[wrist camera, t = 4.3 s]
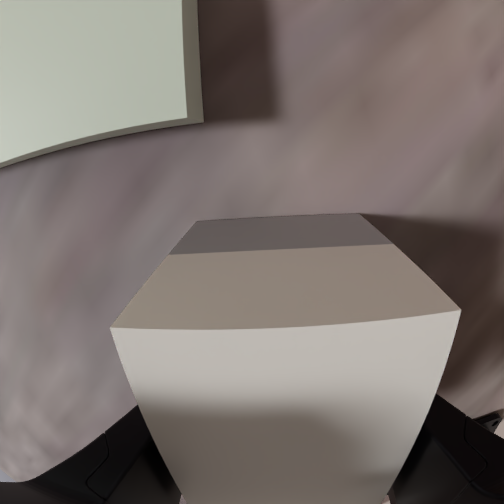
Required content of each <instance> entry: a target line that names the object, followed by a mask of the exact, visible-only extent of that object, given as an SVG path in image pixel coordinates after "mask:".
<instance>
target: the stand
mask: <svg viewBox="0 0 504 504" xmlns="http://www.w3.org/2000/svg"><path fill="white" fill-rule="evenodd" d="M195 123H204V116H203V102H202V88H201V71H200V54H199V34H198V10H197V0H0V168H2V167H5V166H8V165H11V164H14V163H17V162H20V161H23V160H26V159H29V158H33V157H36V156H39V155H43V154H46V153H50V152H53V151H57V150H60V149H64V148H68V147H72V146H76V145H80V144H84V143H88V142H93V141H97V140H101V139H106V138H111V137H116V136H121V135H126V134H131V133H136V132H142V131H148V130H154V129H160V128H166V127H173V126H180V125H187V124H195Z"/></svg>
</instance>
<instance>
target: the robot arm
mask: <svg viewBox="0 0 504 504" xmlns="http://www.w3.org/2000/svg"><path fill="white" fill-rule="evenodd" d="M501 420H502V418H501V416H500V415H499V414H498V413H496V414H494V415H491V416H488V417H486V418H483V419H480V420H477V421H474V420H473V419H471V418H470V417H469V416H466V415H465V414H464V413H463V412H461V411H460V410H459V409H457V408H456V407H454V406H453V405H452V404H450V403H449V402H447V401H446V400H445V399H443V398H442V397H440V396H439V395H438V394H435V396H434V399H433V401H432V404H431V406H430V409H429V411H428V414H427V416H426V418H425V421H424V423H423V425H422V427H421V430H420V432H419V434H418V436H417V438H416V440H415V442H414V445H413V447H412V449H411V451H410V453H409V455H408V457H407V459H406V460H405V462H404V464H403V466H402V468H401V470H400V472H399V474H398V475H397V477H396V479H395V481H394V482H393V484H392V486H391V488H390V489H389V491H388V493H387V495H389V499H390V503H391V504H504V439H503V438H501V437H499V436H498V435H496V434H494V432H495V429H496V428H497V426H498V425H499V423H500V422H501ZM181 494H182V493H181V492H180V490H179V488H178V486H177V485H176V483H175V481H174V479H173V477H172V475H171V474H170V472H169V470H168V468H167V466H166V464H165V462H164V460H163V458H162V456H161V454H160V452H159V450H158V448H157V446H156V444H155V442H154V440H153V438H152V435H151V433H150V431H149V429H148V427H147V425H146V422H145V420H144V418H143V415H142V413H141V411H140V408H139V406H138V405H137V406H135V407H134V408H133V409H132V410H131V411H129V412H128V413H127V414H126V415H125V416H123V417H122V418H121V419H120V420H119V421H117V422H116V423H115V424H114V425H112V426H111V427H110V428H109V429H108V430H106V431H105V433H103V434H101V435H100V436H99V437H98V438H96V439H95V440H94V441H92V442H91V443H90V444H88V445H87V446H86V447H84V448H83V449H82V450H80V451H79V452H77V453H76V454H74V455H73V456H71V457H70V458H68V459H66V460H65V461H63V462H62V463H60V464H58V465H57V466H55V467H53V468H52V469H50V470H48V471H47V472H45V473H43V474H41V475H40V476H38V477H36V478H34V479H31V480H28V481H24V482H0V504H179V502H180V498H181Z"/></svg>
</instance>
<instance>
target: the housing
mask: <svg viewBox="0 0 504 504" xmlns="http://www.w3.org/2000/svg"><path fill="white" fill-rule="evenodd" d="M460 314H461V309H460V308H459V307H458V306H457V305H456V304H455V303H454V302H453V301H452V300H451V299H450V298H449V297H448V296H447V295H446V294H445V293H444V292H443V291H442V290H441V289H440V288H439V287H438V286H437V285H436V284H435V283H434V282H433V281H432V280H431V279H430V278H429V277H428V276H427V275H426V274H425V273H424V272H423V271H422V270H421V269H420V268H419V267H418V266H417V265H416V264H415V263H414V262H413V261H412V260H410V259H409V258H408V257H407V256H406V255H405V254H404V253H403V252H402V251H401V250H400V249H399V248H397V247H396V246H395V245H394V244H393V243H392V242H391V241H390V240H389V239H387V238H386V237H385V236H384V235H383V234H382V233H381V232H380V231H378V230H377V229H376V228H375V227H374V226H373V225H372V224H370V223H369V222H368V221H367V220H366V219H365V218H363V217H362V216H361V215H360V214H329V215H303V216H281V217H261V218H243V219H227V220H211V221H197V222H196V223H195V224H194V225H193V226H192V227H191V228H190V230H189V231H188V232H187V233H186V234H185V235H184V237H183V238H182V239H181V240H180V241H179V242H178V244H177V245H176V246H175V247H174V248H173V249H172V251H171V252H170V253H169V254H168V255H167V257H166V258H165V259H164V260H163V261H162V263H161V264H160V265H159V266H158V267H157V269H156V270H155V271H154V272H153V274H152V275H151V276H150V277H149V278H148V280H147V281H146V282H145V283H144V285H143V286H142V287H141V288H140V290H139V291H138V292H137V293H136V295H135V296H134V297H133V298H132V300H131V301H130V302H129V303H128V305H127V306H126V307H125V309H124V310H123V311H122V312H121V314H120V315H119V316H118V317H117V319H116V320H115V321H114V323H113V324H112V325H111V327H110V330H111V333H112V336H113V339H114V342H115V345H116V348H117V351H118V354H119V357H120V360H121V362H122V365H123V368H124V371H125V373H126V376H127V379H128V381H129V384H130V386H131V389H132V391H133V394H134V396H135V399H136V401H137V404H138V406H139V408H140V411H141V413H142V415H143V418H144V420H145V422H146V425H147V427H148V429H149V431H150V433H151V435H152V438H153V440H154V442H155V444H156V446H157V448H158V450H159V452H160V454H161V456H162V458H163V460H164V462H165V464H166V466H167V468H168V470H169V472H170V474H171V475H172V477H173V479H174V481H175V483H176V485H177V486H178V488H179V490H180V492H181V493H182V495H183V497H184V499H185V500H186V502H187V504H381V503H382V501H383V499H384V498H385V496H386V494H387V493H388V491H389V489H390V488H391V486H392V484H393V482H394V481H395V479H396V477H397V475H398V474H399V472H400V470H401V468H402V466H403V464H404V462H405V460H406V459H407V457H408V455H409V453H410V451H411V449H412V447H413V445H414V442H415V440H416V438H417V436H418V434H419V432H420V430H421V427H422V425H423V423H424V421H425V418H426V416H427V414H428V411H429V409H430V406H431V404H432V401H433V399H434V396H435V394H436V391H437V388H438V386H439V383H440V380H441V377H442V374H443V371H444V369H445V366H446V362H447V359H448V356H449V353H450V350H451V347H452V343H453V340H454V336H455V333H456V329H457V325H458V321H459V318H460Z"/></svg>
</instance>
